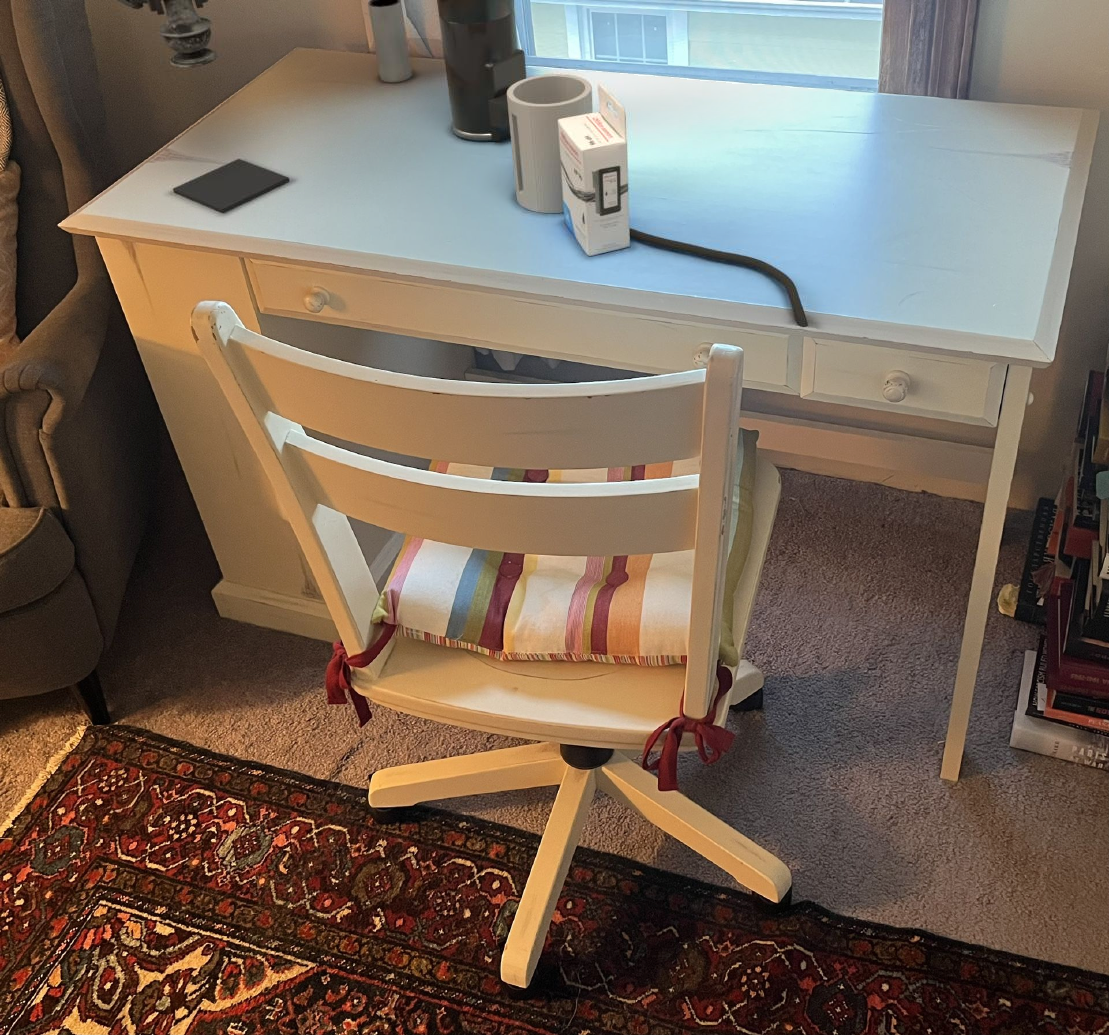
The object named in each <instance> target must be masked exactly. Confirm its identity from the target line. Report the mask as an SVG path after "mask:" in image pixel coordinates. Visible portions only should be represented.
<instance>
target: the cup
mask: <svg viewBox="0 0 1109 1035" xmlns="http://www.w3.org/2000/svg"><path fill="white" fill-rule="evenodd" d="M507 101H508V112H509V123H510V133H511V136H510V144H511V153H512V154H511V155H512V163H513V174H514V175H513V176H514V184H515V194H516V201H517V203H518V204H519V205H520V206H521V207H523V208H524V209H526V210H529V211H532V212H537V213H543V214H560V213H561V214H562V213H564V204H563V188H562V172H561V157H560V143H559V129H558V120H559V119H562V118H567V117H572V116H579V115H584V114H589V113H594V108H593V88H592V84H591V82H589V81H588V80H586V79H585V78H583V77H581V76H577V75H573V74H572V75H571V74H564V73H563V74H562V73H560V74H559V73H548V74H547V73H546V74H540V75H535V76H530V77H527V78H526V79H523V80H521V81H518V82H516V83H515V84H513V85H512V86H510V88H509V89H508V90H507Z"/></svg>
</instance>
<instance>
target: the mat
mask: <svg viewBox="0 0 1109 1035" xmlns="http://www.w3.org/2000/svg"><path fill="white" fill-rule="evenodd" d="M288 182H290V178H289V176H286V175H283V174H281V173H277V172H275V171H272V170H269V169H268V168H265V167H262V166H259V165H257V164H254V163H251V162H250V161H249V162H248V161H247V160H244V159H241V158H237V159H235V160H233V161H231V162H228V163H226V164H224V165H222V166H220V167H218V168H215V169H213V170H211V171H209V172H206V173H204V174H202V175H199V176H197V177H195V178H193V179H190V180H189V181H186V182H184V183H182V184H180V185H177V186H176V187H173V188H172V191H173V193H174V194H176V195H179V196H182V197H184V198H186V199H189V200H191V201H193V202H196V203H198V204H200V205H203V206H206V207H208V208H209V209H212V210H214V211H217V212H220V213H222V214H225V213H226V212H228V211H230V210H232V209H235V208H237V207H239V206H242V205H243V204H246V203H247V202H249V201H251V200H253V199H255V198H258V197H259V196H261V195H264V194H267V193H268V192H271V191H272V190H274V189H276V188H279V187H280V186H283V185H285V184H286V183H288Z"/></svg>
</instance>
